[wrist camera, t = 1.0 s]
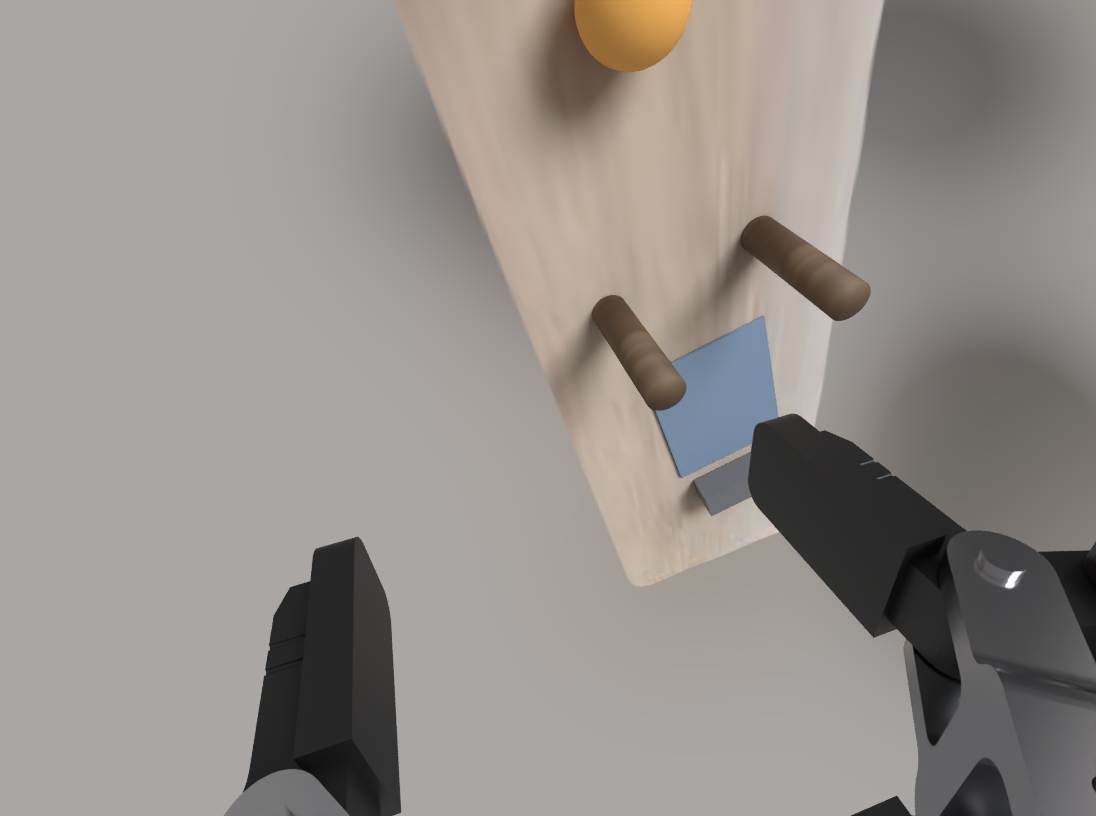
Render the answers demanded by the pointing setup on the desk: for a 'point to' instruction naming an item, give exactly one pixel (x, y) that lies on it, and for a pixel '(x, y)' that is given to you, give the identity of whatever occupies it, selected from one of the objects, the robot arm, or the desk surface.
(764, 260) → the post
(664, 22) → the ball
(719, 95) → the desk surface
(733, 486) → the stopper wall
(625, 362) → the post
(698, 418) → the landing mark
